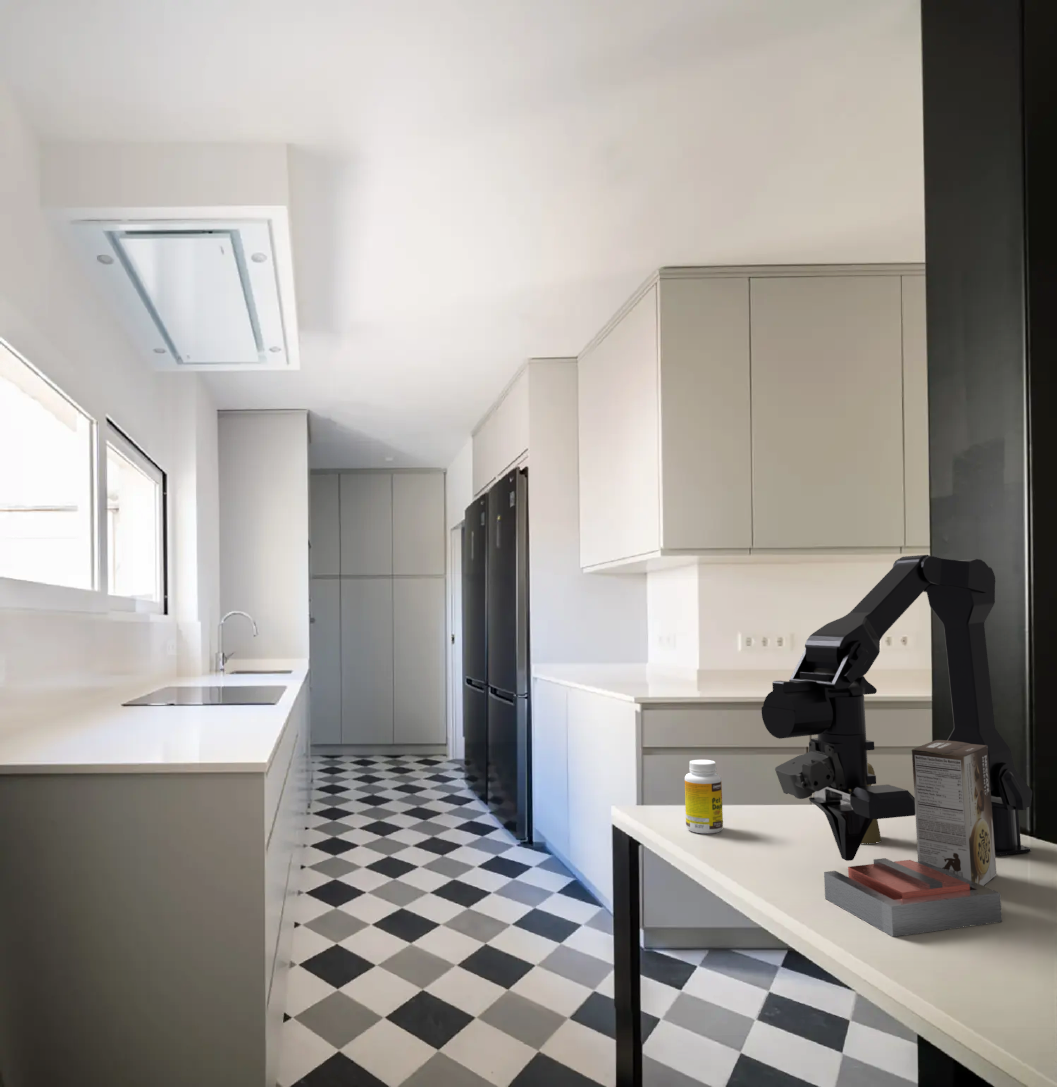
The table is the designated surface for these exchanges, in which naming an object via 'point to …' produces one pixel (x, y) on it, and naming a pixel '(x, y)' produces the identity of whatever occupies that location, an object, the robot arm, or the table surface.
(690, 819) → the supplement bottle
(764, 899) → the table surface
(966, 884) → the block
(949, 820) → the coffee box
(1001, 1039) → the table surface
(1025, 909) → the table surface
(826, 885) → the tray
